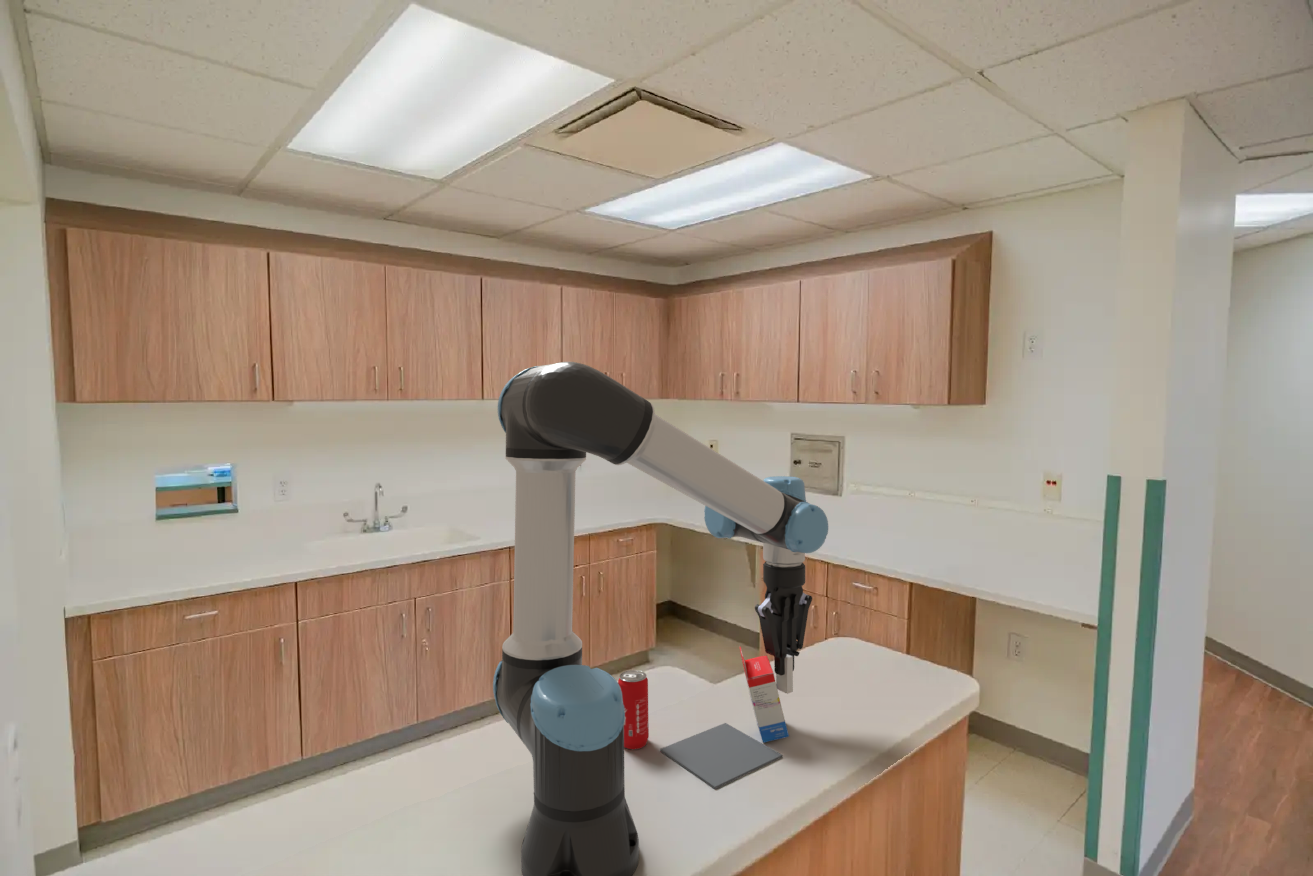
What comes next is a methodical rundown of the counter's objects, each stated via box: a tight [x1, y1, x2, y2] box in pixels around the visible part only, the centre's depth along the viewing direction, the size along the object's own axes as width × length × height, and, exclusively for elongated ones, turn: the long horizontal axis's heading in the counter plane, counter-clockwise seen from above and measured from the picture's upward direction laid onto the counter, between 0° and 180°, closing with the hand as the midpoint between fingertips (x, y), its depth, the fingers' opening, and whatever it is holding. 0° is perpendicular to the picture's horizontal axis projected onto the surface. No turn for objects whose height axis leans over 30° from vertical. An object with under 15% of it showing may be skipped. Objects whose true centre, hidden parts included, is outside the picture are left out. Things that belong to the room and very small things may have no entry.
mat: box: [659, 722, 783, 790], centre depth 109 cm, size 15×14×1 cm
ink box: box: [739, 645, 790, 744], centre depth 116 cm, size 8×5×15 cm, turn 179°
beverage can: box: [617, 669, 650, 751], centre depth 113 cm, size 5×5×12 cm
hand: (784, 690), depth 118 cm, fingers closed
